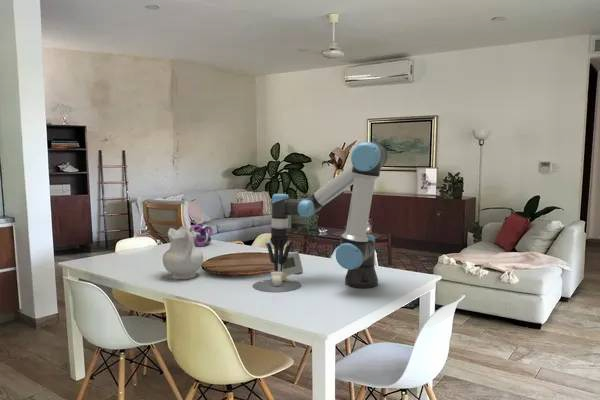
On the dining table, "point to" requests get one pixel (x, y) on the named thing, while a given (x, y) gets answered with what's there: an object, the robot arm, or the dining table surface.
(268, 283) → the grey flat disc
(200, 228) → the sculpture
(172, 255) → the ceramic pitcher
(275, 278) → the peg
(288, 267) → the digital clock
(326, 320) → the dining table surface
